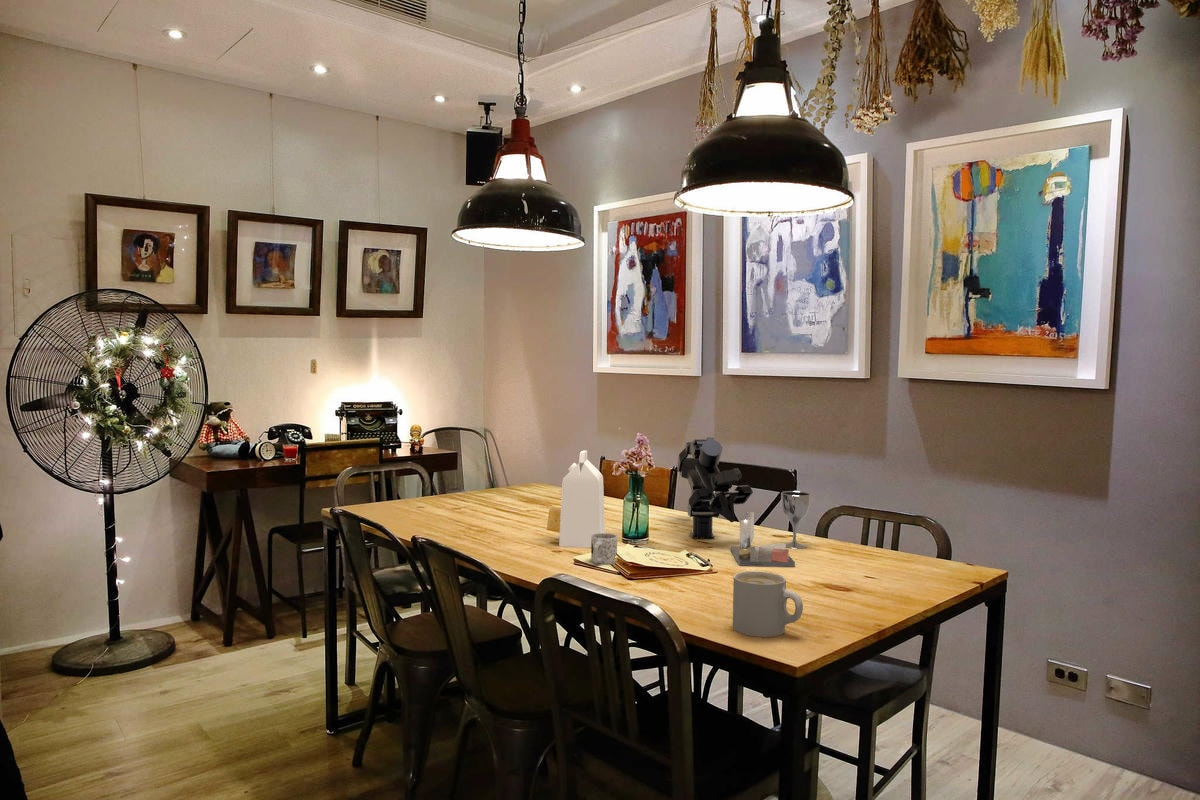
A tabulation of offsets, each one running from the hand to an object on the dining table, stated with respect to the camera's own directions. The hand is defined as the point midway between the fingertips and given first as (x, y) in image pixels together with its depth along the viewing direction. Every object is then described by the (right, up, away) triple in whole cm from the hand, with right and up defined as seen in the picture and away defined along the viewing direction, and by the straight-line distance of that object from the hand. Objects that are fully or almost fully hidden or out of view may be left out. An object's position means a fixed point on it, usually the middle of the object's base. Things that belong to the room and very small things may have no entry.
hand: (733, 521), depth 226 cm
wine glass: (+18, -8, +6) cm, 21 cm away
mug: (-36, -8, -16) cm, 41 cm away
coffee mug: (-5, -11, -68) cm, 69 cm away
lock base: (+6, -8, -10) cm, 14 cm away
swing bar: (+2, -4, -9) cm, 10 cm away
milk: (-42, -7, +7) cm, 43 cm away
